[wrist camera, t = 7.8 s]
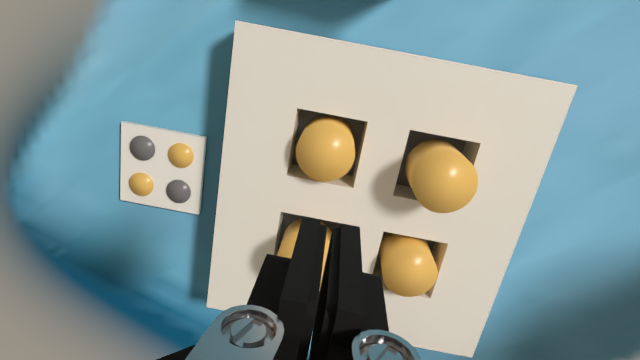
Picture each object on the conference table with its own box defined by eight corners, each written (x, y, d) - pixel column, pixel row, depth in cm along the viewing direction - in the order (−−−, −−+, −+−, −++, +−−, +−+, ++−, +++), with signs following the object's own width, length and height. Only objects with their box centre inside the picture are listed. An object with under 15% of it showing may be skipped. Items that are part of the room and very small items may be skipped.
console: (551, 81, 26) (577, 85, 23) (460, 329, 32) (472, 357, 29) (247, 22, 26) (235, 20, 23) (218, 283, 32) (206, 307, 29)
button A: (468, 145, 25) (486, 159, 22) (452, 197, 26) (467, 218, 23) (412, 134, 25) (422, 147, 22) (398, 187, 26) (406, 206, 23)
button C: (359, 120, 26) (360, 130, 23) (348, 170, 28) (348, 186, 24) (306, 109, 26) (300, 118, 23) (297, 160, 28) (291, 175, 24)
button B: (433, 231, 29) (444, 255, 26) (420, 273, 30) (429, 301, 27) (384, 222, 29) (389, 244, 26) (373, 265, 30) (377, 291, 27)
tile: (206, 136, 28) (204, 138, 28) (200, 212, 30) (197, 215, 30) (124, 120, 28) (120, 122, 28) (123, 197, 30) (119, 200, 30)
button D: (338, 223, 27) (337, 247, 24) (328, 267, 28) (326, 296, 25) (287, 213, 27) (279, 236, 24) (279, 258, 28) (271, 285, 25)
